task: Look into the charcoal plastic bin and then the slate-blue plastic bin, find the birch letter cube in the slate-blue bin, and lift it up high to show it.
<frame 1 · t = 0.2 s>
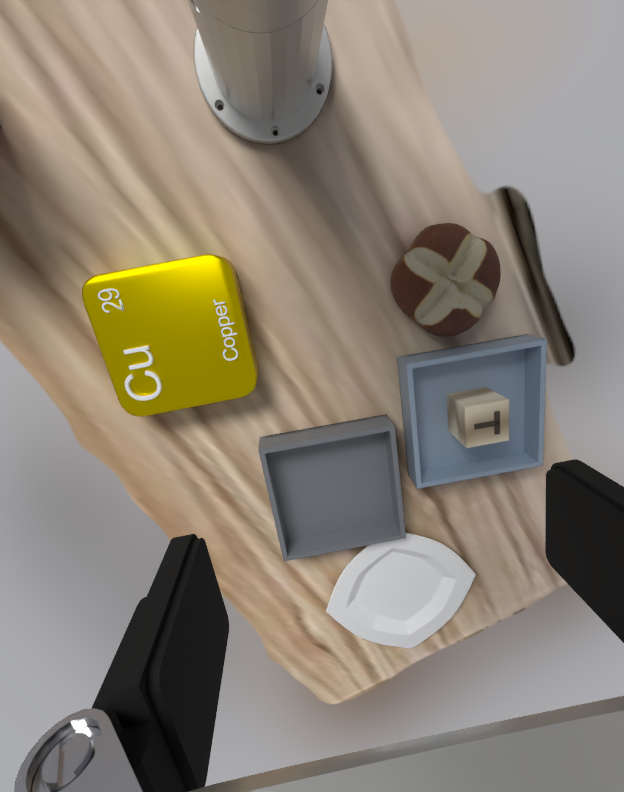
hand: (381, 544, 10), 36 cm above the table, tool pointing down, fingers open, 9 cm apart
letter cube: (466, 409, 48), point 1 cm above the table, touching slate bin
element tile: (183, 333, 44), on the table
bread: (440, 279, 44), on the table
plate: (396, 582, 57), on the table
charcoal bin: (332, 481, 51), on the table
slate bin: (464, 407, 49), on the table
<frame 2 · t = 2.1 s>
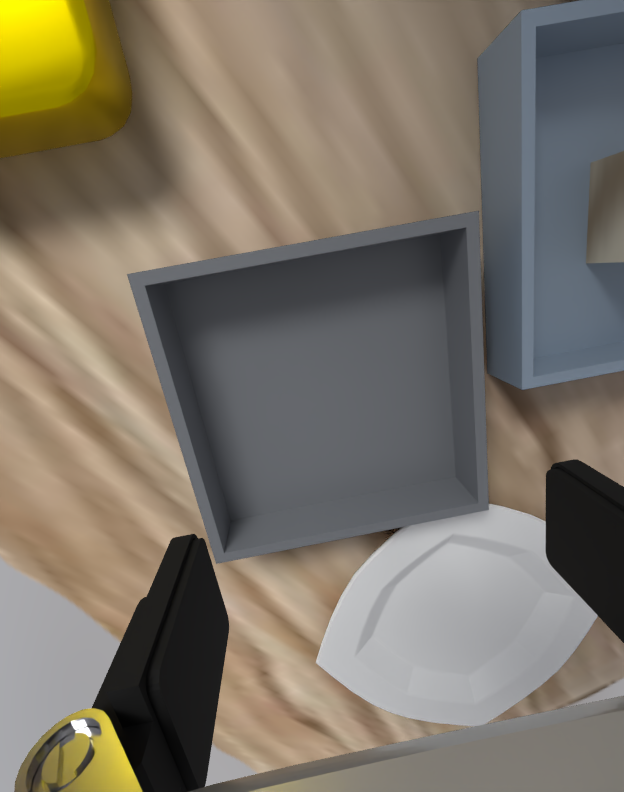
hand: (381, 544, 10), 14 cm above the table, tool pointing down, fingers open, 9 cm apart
plate: (452, 602, 30), on the table
charcoal bin: (324, 388, 23), on the table
slate bin: (623, 208, 21), on the table
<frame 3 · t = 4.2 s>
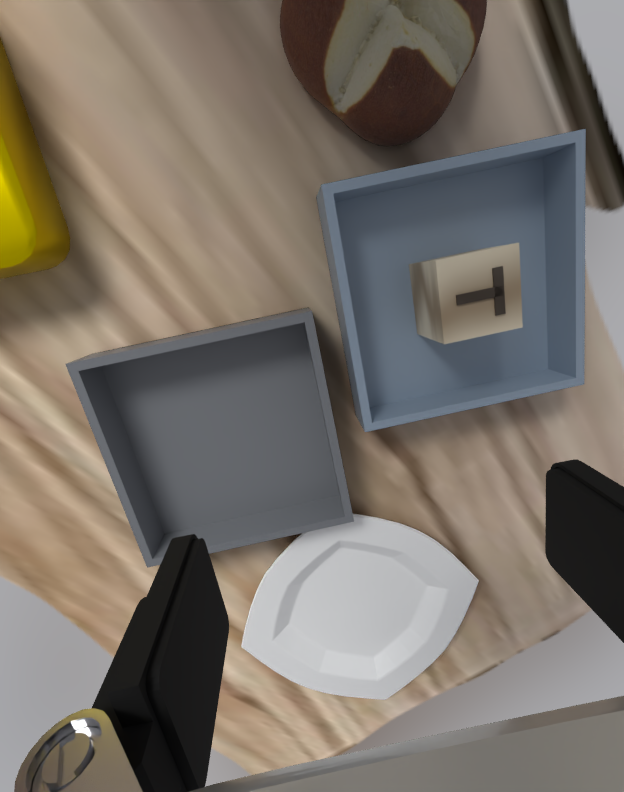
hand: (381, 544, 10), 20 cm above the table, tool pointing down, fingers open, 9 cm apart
letter cube: (446, 292, 28), point 1 cm above the table, touching slate bin
bread: (379, 41, 24), on the table
plate: (355, 596, 37), on the table
charcoal bin: (229, 430, 30), on the table
slate bin: (443, 292, 29), on the table
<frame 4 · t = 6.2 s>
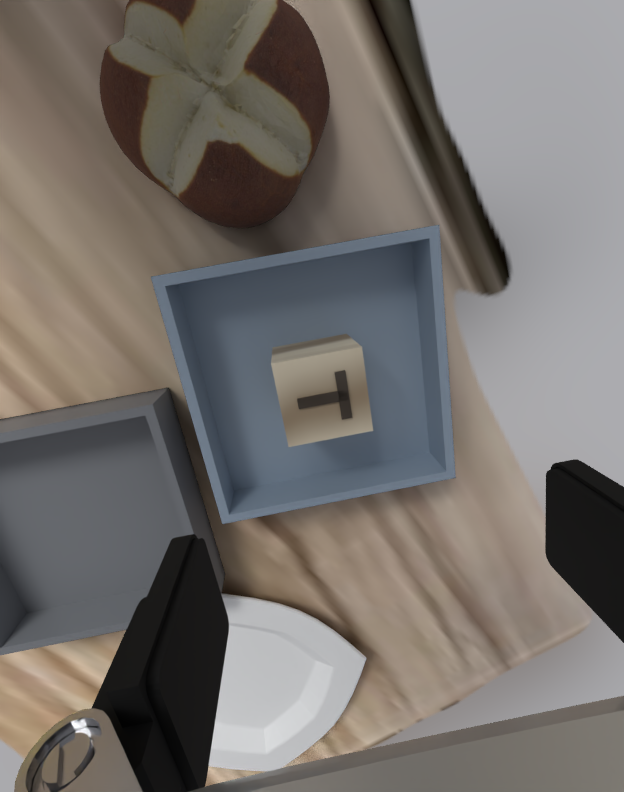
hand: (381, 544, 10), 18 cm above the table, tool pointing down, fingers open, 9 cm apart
letter cube: (315, 376, 26), point 1 cm above the table, touching slate bin
bread: (227, 115, 22), on the table
plate: (244, 668, 35), on the table
charcoal bin: (92, 509, 29), on the table
slate bin: (315, 374, 27), on the table
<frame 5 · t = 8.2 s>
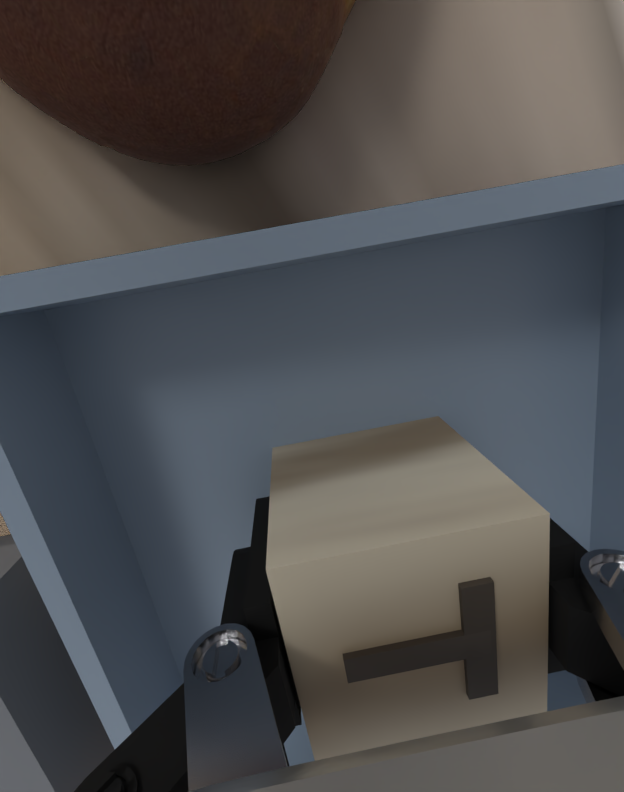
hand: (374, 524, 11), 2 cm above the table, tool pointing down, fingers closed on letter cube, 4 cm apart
letter cube: (366, 504, 12), point 1 cm above the table, touching gripper, slate bin
slate bin: (362, 494, 13), on the table
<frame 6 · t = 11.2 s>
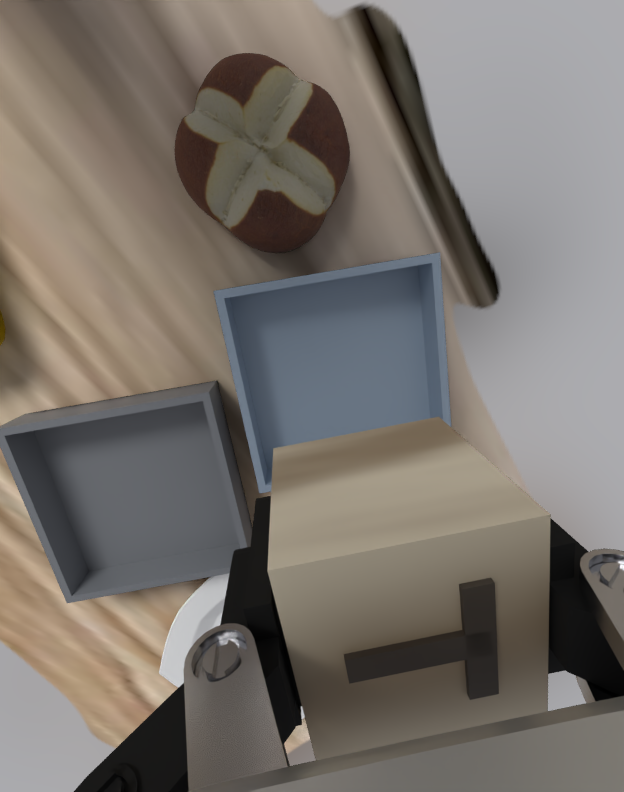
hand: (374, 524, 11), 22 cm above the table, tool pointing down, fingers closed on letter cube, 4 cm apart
letter cube: (367, 504, 12), point 21 cm above the table, touching gripper
bread: (268, 165, 28), on the table
plate: (268, 629, 40), on the table
charcoal bin: (148, 482, 34), on the table
slate bin: (337, 371, 33), on the table
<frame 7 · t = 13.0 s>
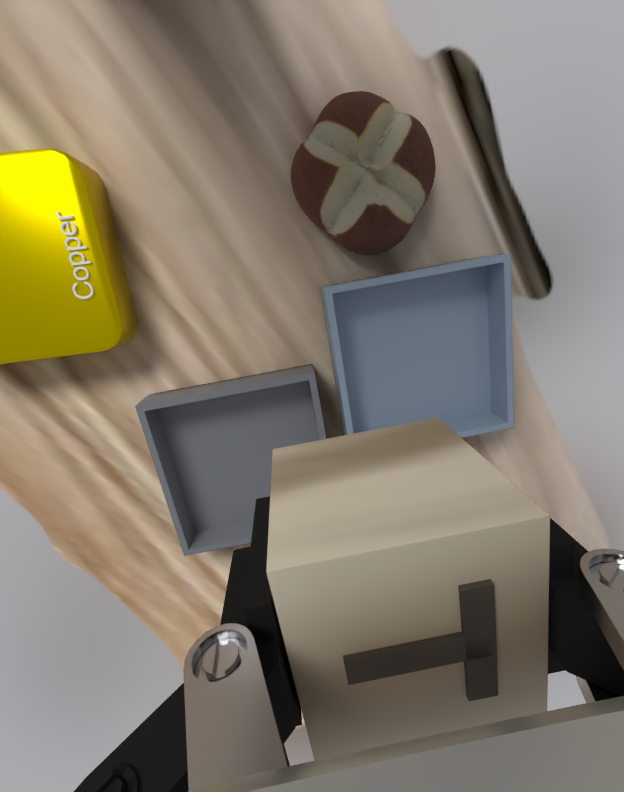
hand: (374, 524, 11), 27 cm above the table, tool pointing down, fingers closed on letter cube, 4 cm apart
letter cube: (366, 505, 12), point 26 cm above the table, touching gripper
element tile: (39, 267, 34), on the table
bread: (361, 180, 34), on the table
charcoal bin: (248, 453, 40), on the table
slate bin: (412, 355, 38), on the table
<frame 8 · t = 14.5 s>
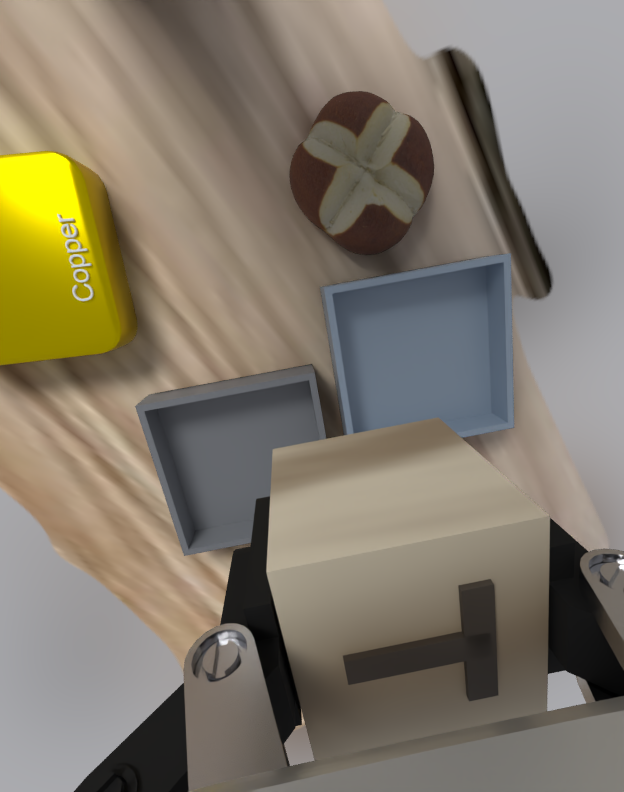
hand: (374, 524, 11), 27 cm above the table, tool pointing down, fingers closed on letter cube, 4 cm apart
letter cube: (366, 505, 12), point 26 cm above the table, touching gripper
element tile: (39, 268, 34), on the table
bread: (360, 180, 34), on the table
charcoal bin: (248, 453, 40), on the table
slate bin: (412, 355, 38), on the table
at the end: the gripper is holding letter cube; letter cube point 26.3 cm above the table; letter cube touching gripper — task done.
